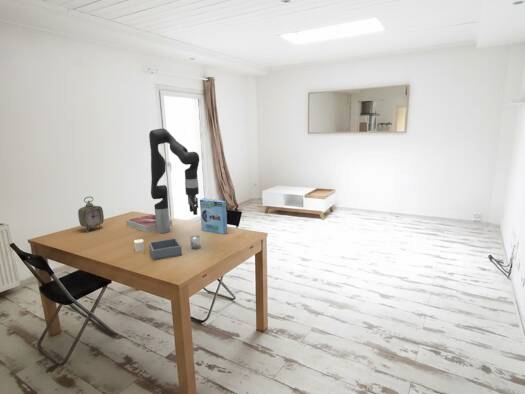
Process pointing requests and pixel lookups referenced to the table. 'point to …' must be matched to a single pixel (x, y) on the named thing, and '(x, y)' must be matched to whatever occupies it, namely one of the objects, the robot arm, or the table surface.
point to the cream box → (139, 245)
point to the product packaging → (144, 223)
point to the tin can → (195, 242)
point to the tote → (165, 249)
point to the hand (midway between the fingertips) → (193, 213)
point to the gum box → (213, 215)
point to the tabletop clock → (90, 215)
